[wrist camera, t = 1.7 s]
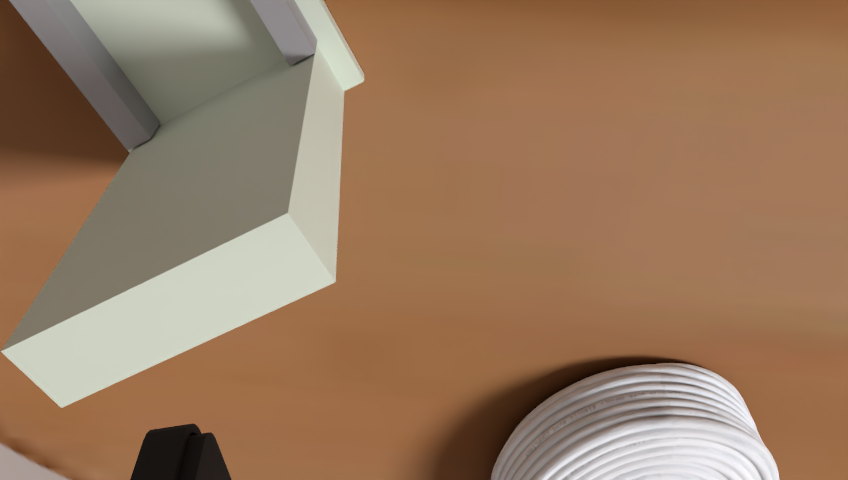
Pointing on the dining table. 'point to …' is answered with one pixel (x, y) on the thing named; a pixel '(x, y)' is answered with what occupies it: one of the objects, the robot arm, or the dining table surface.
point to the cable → (639, 430)
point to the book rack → (190, 179)
